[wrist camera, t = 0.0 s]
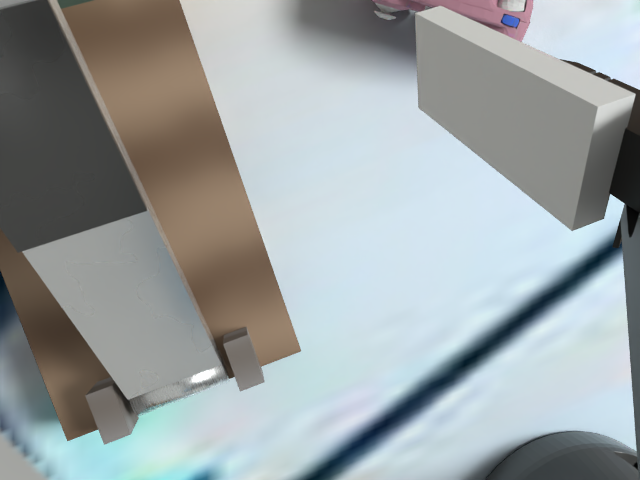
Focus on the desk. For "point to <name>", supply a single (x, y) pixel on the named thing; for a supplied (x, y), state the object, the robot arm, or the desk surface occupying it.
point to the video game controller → (472, 12)
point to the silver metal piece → (92, 217)
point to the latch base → (159, 213)
